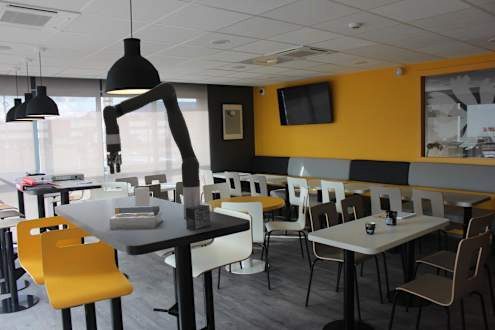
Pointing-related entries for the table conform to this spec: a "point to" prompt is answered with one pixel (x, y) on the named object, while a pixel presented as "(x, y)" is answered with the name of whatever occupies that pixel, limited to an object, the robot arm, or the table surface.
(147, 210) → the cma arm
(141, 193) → the cup
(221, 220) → the table surface
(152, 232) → the table surface
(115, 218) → the chassis
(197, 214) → the small box
